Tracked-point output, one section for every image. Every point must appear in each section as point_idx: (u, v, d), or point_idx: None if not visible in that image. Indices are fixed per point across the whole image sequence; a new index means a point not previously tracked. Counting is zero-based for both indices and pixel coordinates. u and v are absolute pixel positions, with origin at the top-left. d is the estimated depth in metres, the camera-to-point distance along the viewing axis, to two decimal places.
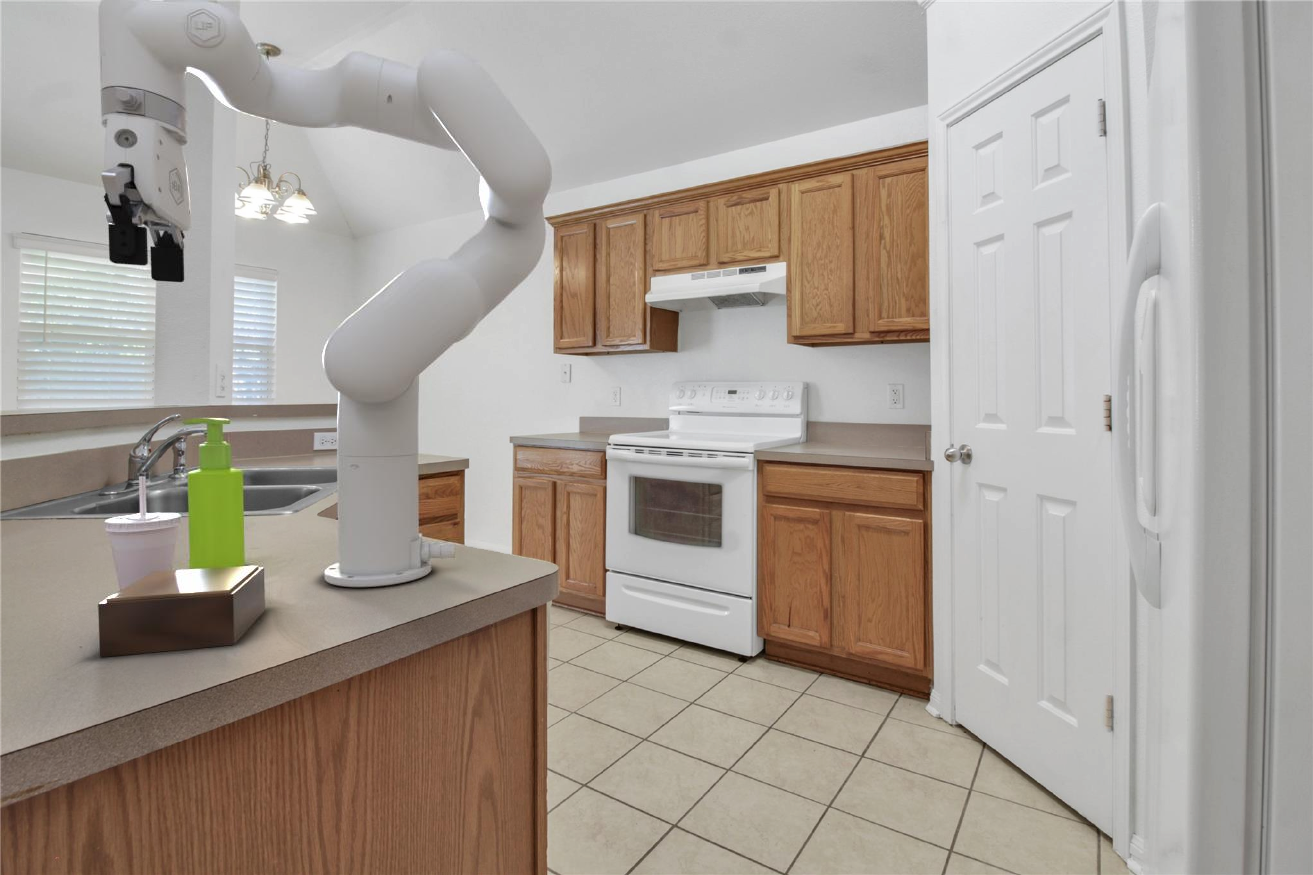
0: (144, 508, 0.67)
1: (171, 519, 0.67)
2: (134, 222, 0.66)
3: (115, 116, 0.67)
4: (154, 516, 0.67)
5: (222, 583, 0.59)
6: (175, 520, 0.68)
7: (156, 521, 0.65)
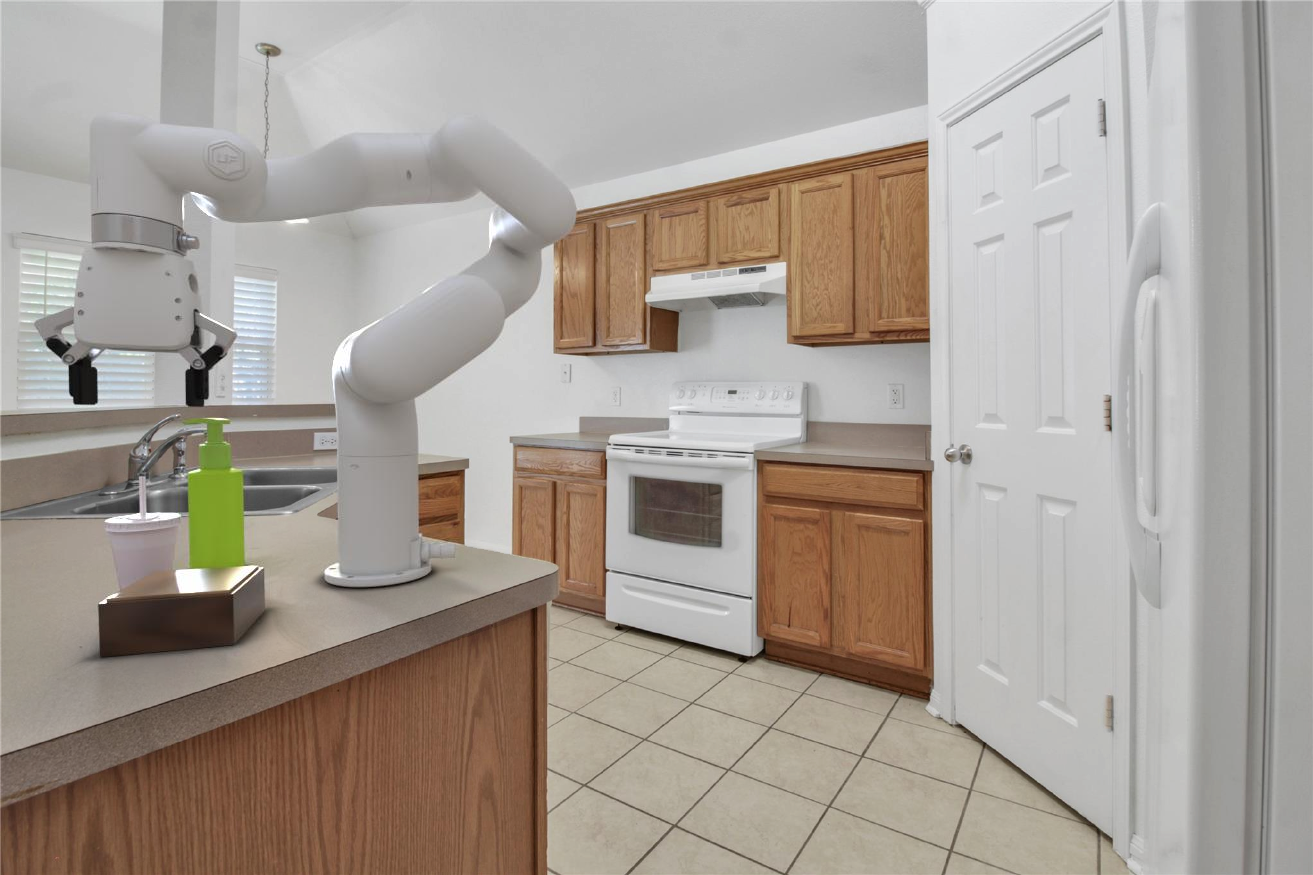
0: (144, 508, 0.67)
1: (171, 519, 0.67)
2: (210, 368, 0.69)
3: (183, 258, 0.66)
4: (154, 516, 0.67)
5: (222, 583, 0.59)
6: (175, 520, 0.68)
7: (156, 521, 0.65)
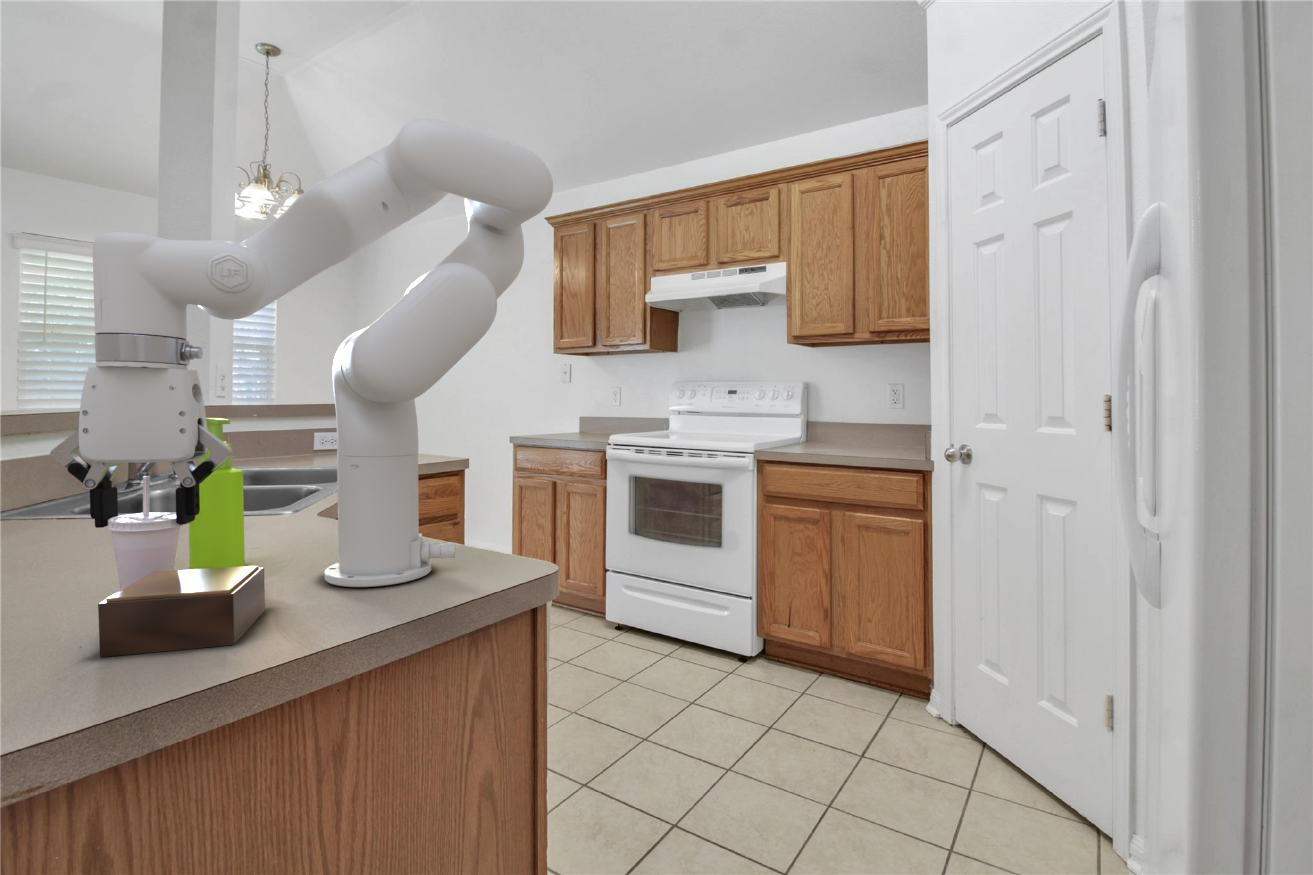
0: (147, 508, 0.67)
1: (174, 519, 0.67)
2: (199, 483, 0.69)
3: (186, 370, 0.67)
4: (157, 516, 0.67)
5: (222, 583, 0.59)
6: None
7: (159, 521, 0.65)
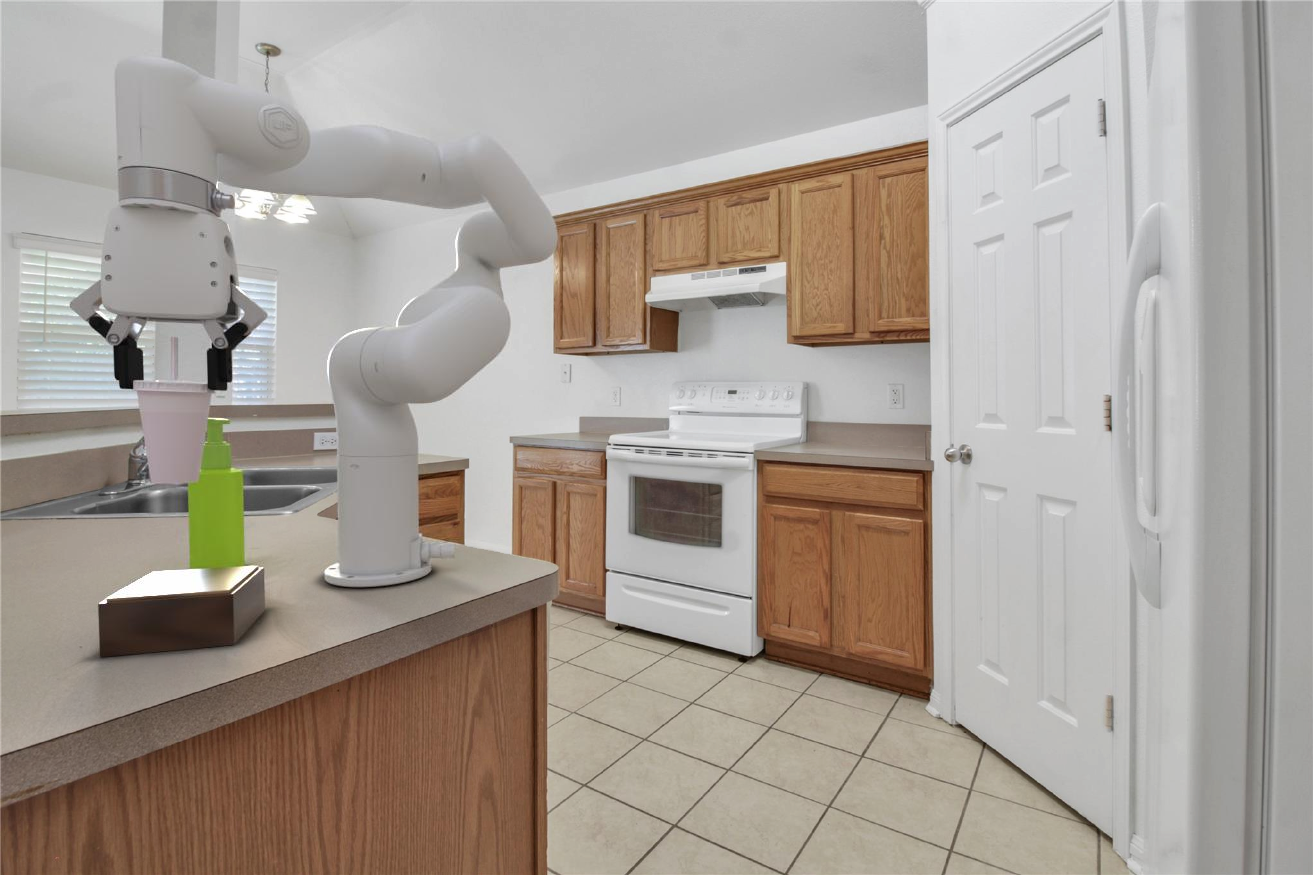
0: (176, 372, 0.61)
1: (205, 384, 0.61)
2: (232, 349, 0.63)
3: (217, 219, 0.60)
4: (186, 381, 0.61)
5: (222, 583, 0.59)
6: None
7: (189, 383, 0.59)
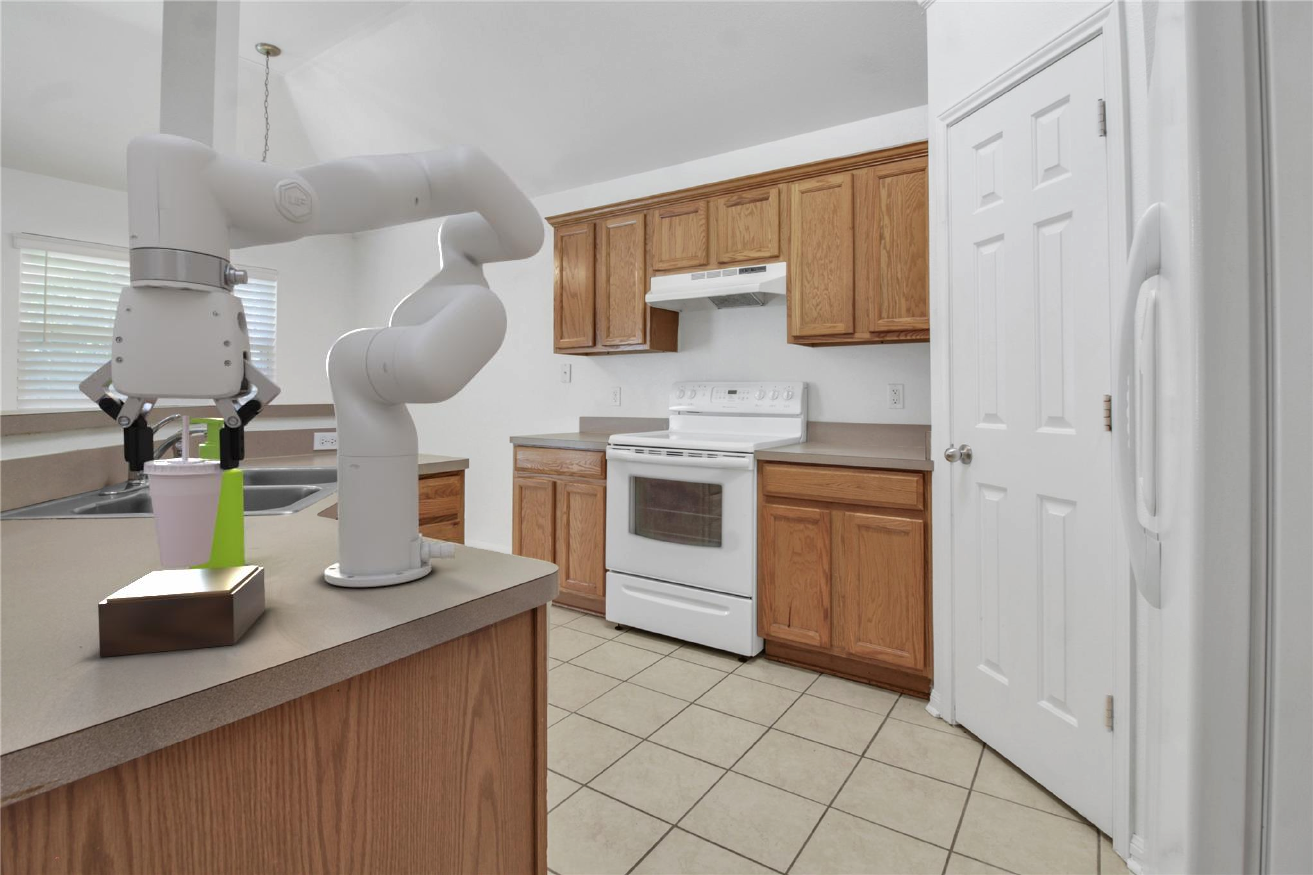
0: (187, 451, 0.60)
1: (217, 464, 0.59)
2: (244, 425, 0.62)
3: (231, 295, 0.59)
4: (198, 460, 0.60)
5: (222, 583, 0.59)
6: None
7: (201, 465, 0.58)
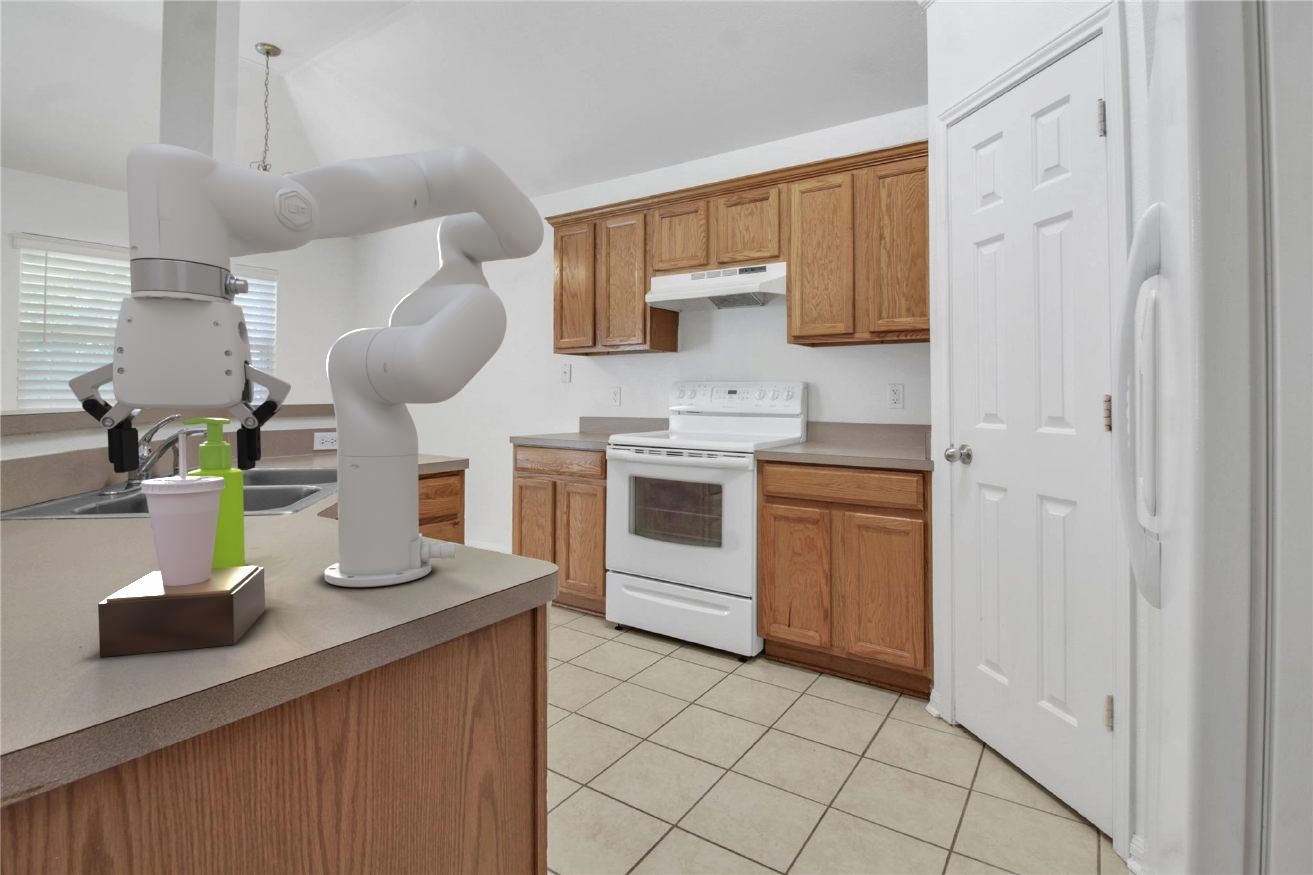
0: (184, 469, 0.60)
1: (215, 481, 0.59)
2: (262, 425, 0.62)
3: (231, 305, 0.59)
4: (195, 478, 0.60)
5: (222, 583, 0.59)
6: (219, 483, 0.60)
7: (199, 483, 0.58)
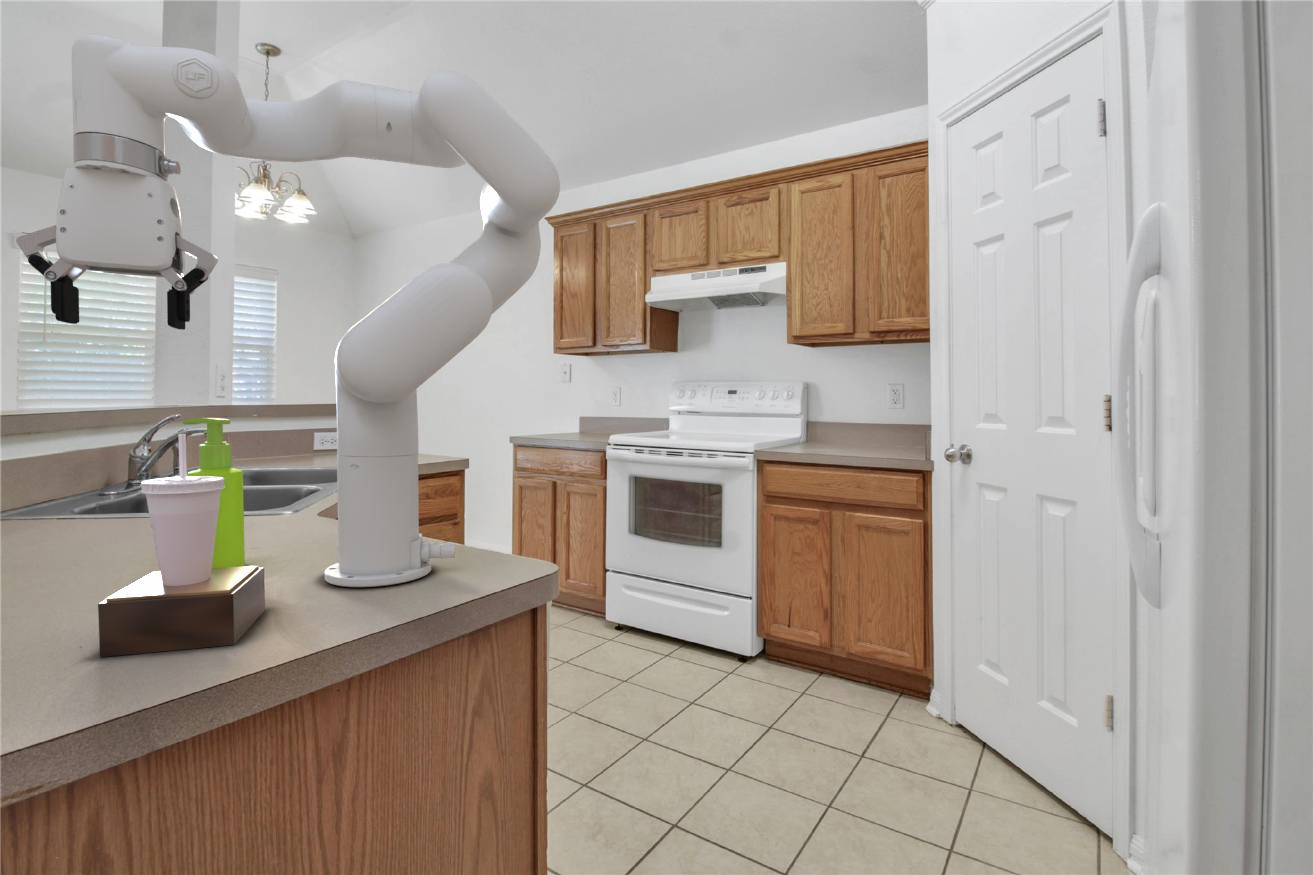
0: (184, 469, 0.60)
1: (215, 481, 0.59)
2: (191, 292, 0.71)
3: (164, 182, 0.68)
4: (195, 478, 0.60)
5: (222, 583, 0.59)
6: (219, 483, 0.60)
7: (199, 483, 0.58)
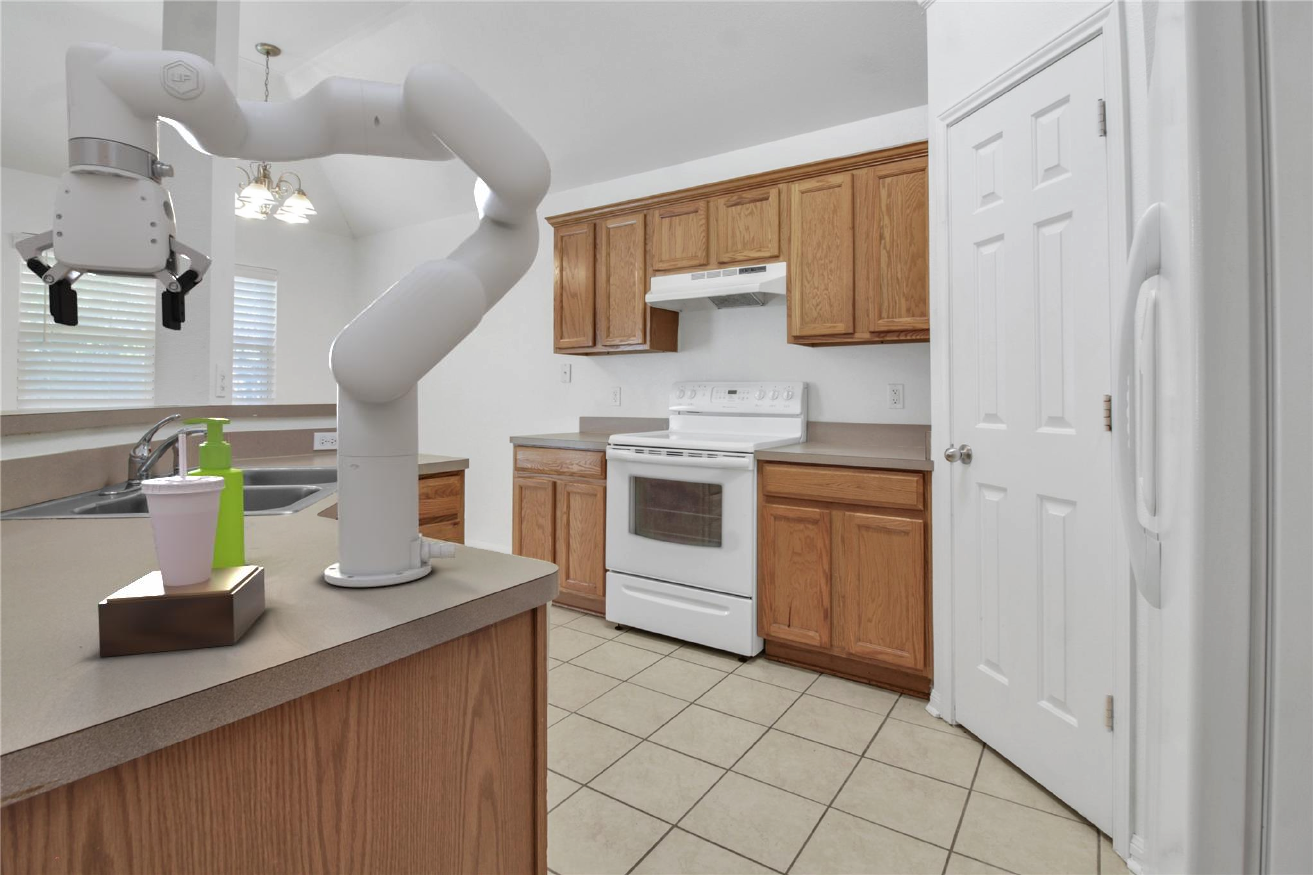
0: (184, 469, 0.60)
1: (215, 481, 0.59)
2: (186, 293, 0.72)
3: (157, 185, 0.69)
4: (196, 478, 0.60)
5: (222, 583, 0.59)
6: (219, 483, 0.60)
7: (199, 483, 0.58)
